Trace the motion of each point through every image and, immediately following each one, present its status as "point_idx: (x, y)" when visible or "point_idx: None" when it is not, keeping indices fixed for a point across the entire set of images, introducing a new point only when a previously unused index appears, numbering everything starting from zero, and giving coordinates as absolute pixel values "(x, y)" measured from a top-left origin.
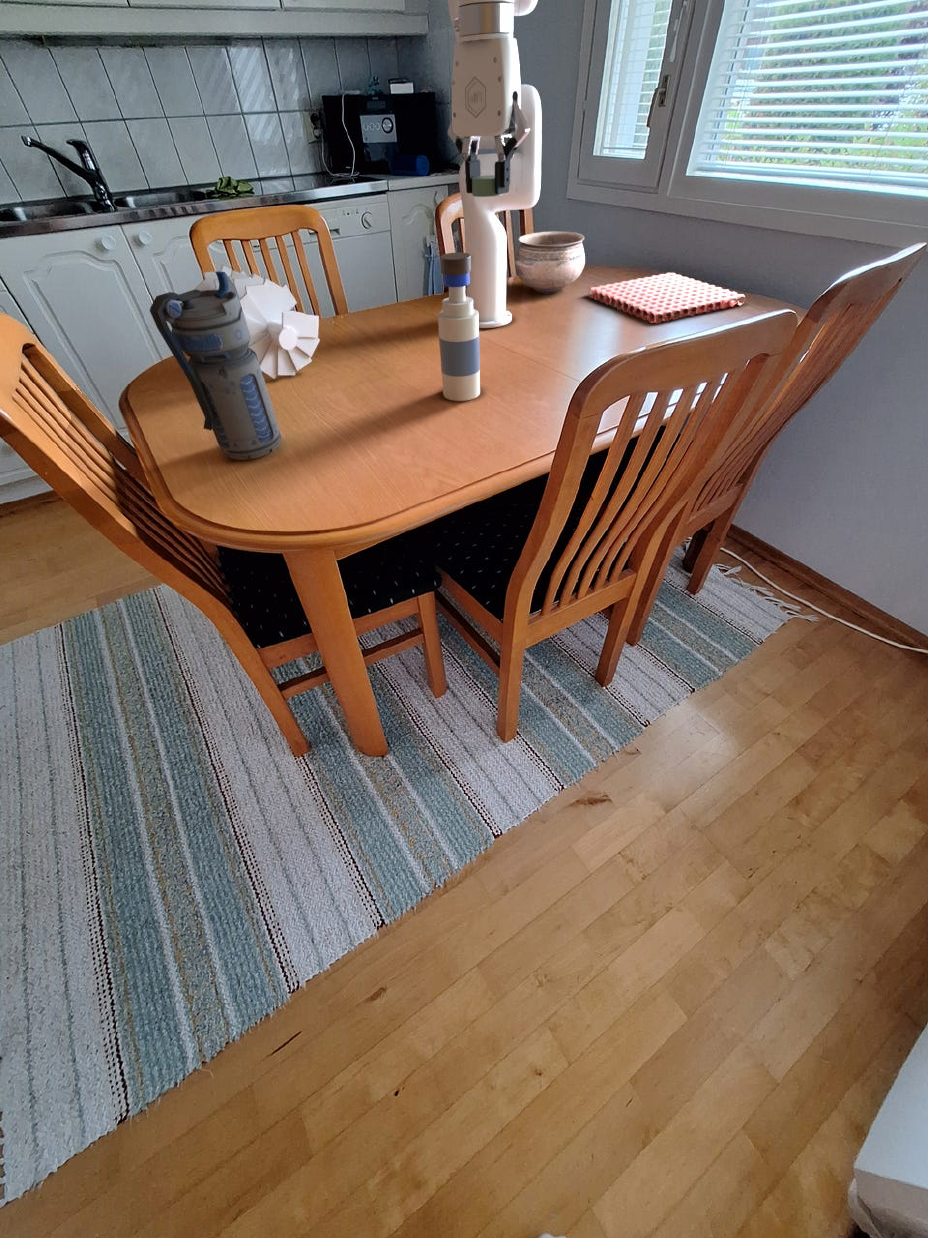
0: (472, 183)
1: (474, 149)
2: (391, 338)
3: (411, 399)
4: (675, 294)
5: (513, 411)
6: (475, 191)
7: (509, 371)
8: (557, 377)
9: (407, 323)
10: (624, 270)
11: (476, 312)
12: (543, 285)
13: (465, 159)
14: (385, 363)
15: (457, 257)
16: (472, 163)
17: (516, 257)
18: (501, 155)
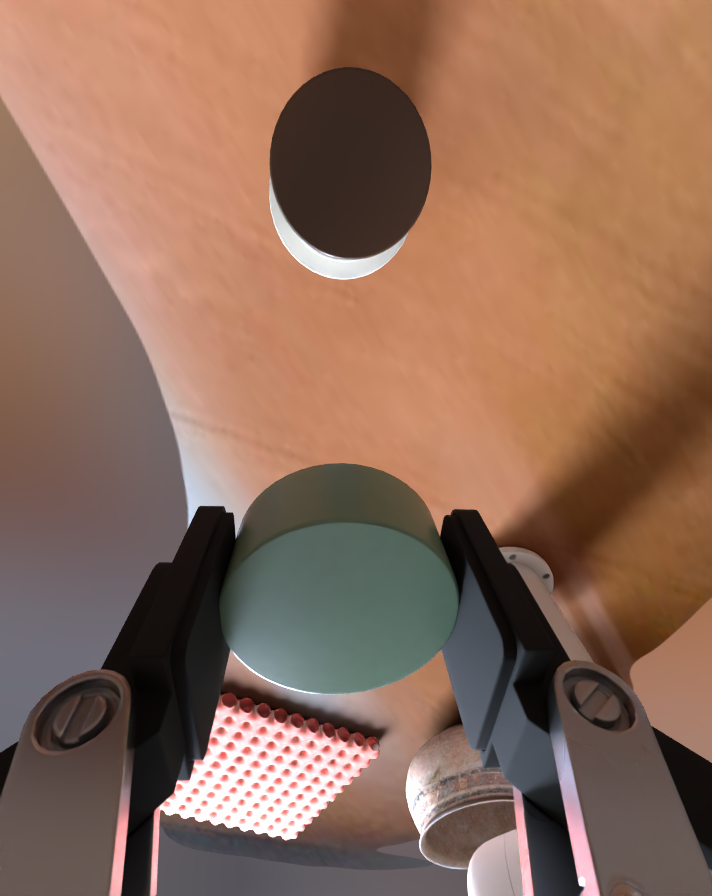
0: (423, 525)
1: (550, 829)
2: (660, 424)
3: (431, 110)
4: (230, 776)
5: (165, 184)
6: (373, 477)
7: (310, 386)
8: (202, 405)
9: (659, 510)
10: (382, 834)
11: (289, 240)
12: (455, 728)
13: (572, 677)
14: (608, 287)
15: (317, 137)
16: (491, 670)
17: None
18: (81, 726)
